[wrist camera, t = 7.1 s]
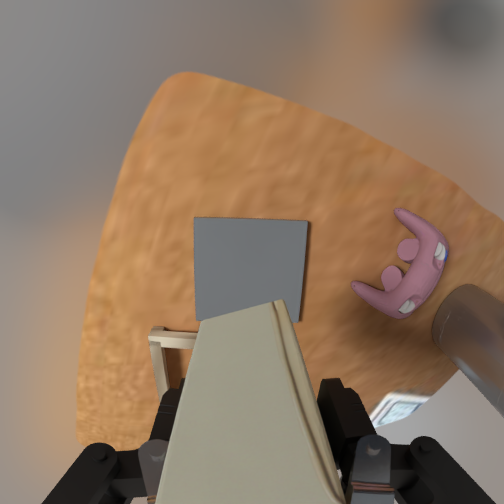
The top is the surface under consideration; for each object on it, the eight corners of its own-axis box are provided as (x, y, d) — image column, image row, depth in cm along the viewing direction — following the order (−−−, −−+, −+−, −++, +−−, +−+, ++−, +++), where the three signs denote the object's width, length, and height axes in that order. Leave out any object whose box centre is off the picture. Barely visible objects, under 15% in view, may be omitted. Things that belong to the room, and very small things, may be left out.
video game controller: (365, 295, 30) (410, 332, 25) (343, 287, 28) (392, 329, 22) (411, 218, 28) (462, 246, 23) (394, 200, 26) (452, 229, 20)
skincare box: (308, 387, 15) (368, 585, 4) (233, 406, 15) (237, 606, 4) (282, 292, 14) (379, 571, 2) (192, 317, 14) (131, 585, 2)
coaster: (306, 220, 26) (307, 221, 26) (297, 319, 29) (298, 322, 28) (194, 216, 26) (193, 218, 25) (196, 317, 29) (196, 320, 28)
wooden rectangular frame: (263, 330, 29) (265, 341, 27) (257, 418, 33) (258, 430, 31) (153, 326, 29) (148, 335, 27) (167, 414, 32) (164, 424, 30)
